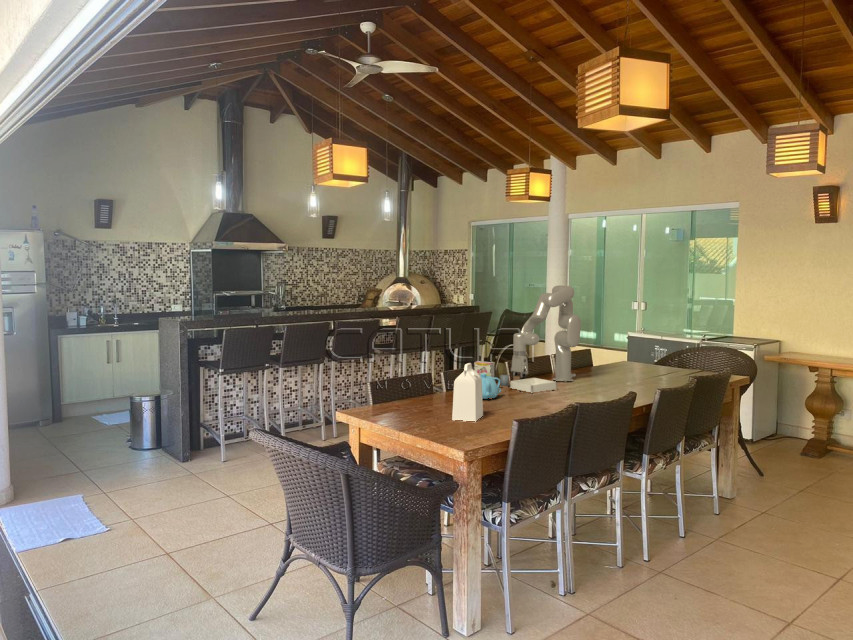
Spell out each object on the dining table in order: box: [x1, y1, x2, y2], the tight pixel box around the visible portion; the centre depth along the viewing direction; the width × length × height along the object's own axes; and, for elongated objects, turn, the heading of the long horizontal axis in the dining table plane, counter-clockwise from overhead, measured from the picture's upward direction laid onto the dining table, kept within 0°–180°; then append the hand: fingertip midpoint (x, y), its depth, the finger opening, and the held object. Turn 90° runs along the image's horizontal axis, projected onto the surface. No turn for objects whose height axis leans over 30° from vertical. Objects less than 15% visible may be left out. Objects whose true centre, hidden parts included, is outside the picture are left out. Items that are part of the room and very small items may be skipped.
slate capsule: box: [499, 374, 510, 387], centre depth 386 cm, size 5×5×7 cm
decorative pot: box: [480, 373, 502, 400], centre depth 352 cm, size 16×16×14 cm
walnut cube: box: [512, 374, 521, 381], centre depth 394 cm, size 5×5×5 cm
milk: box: [451, 362, 484, 423], centre depth 304 cm, size 12×12×26 cm
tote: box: [509, 377, 558, 393], centre depth 376 cm, size 20×18×5 cm
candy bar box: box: [473, 360, 495, 378], centre depth 376 cm, size 11×5×16 cm, turn 58°
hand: (519, 382), depth 394 cm, fingers closed on walnut cube, 5 cm apart
